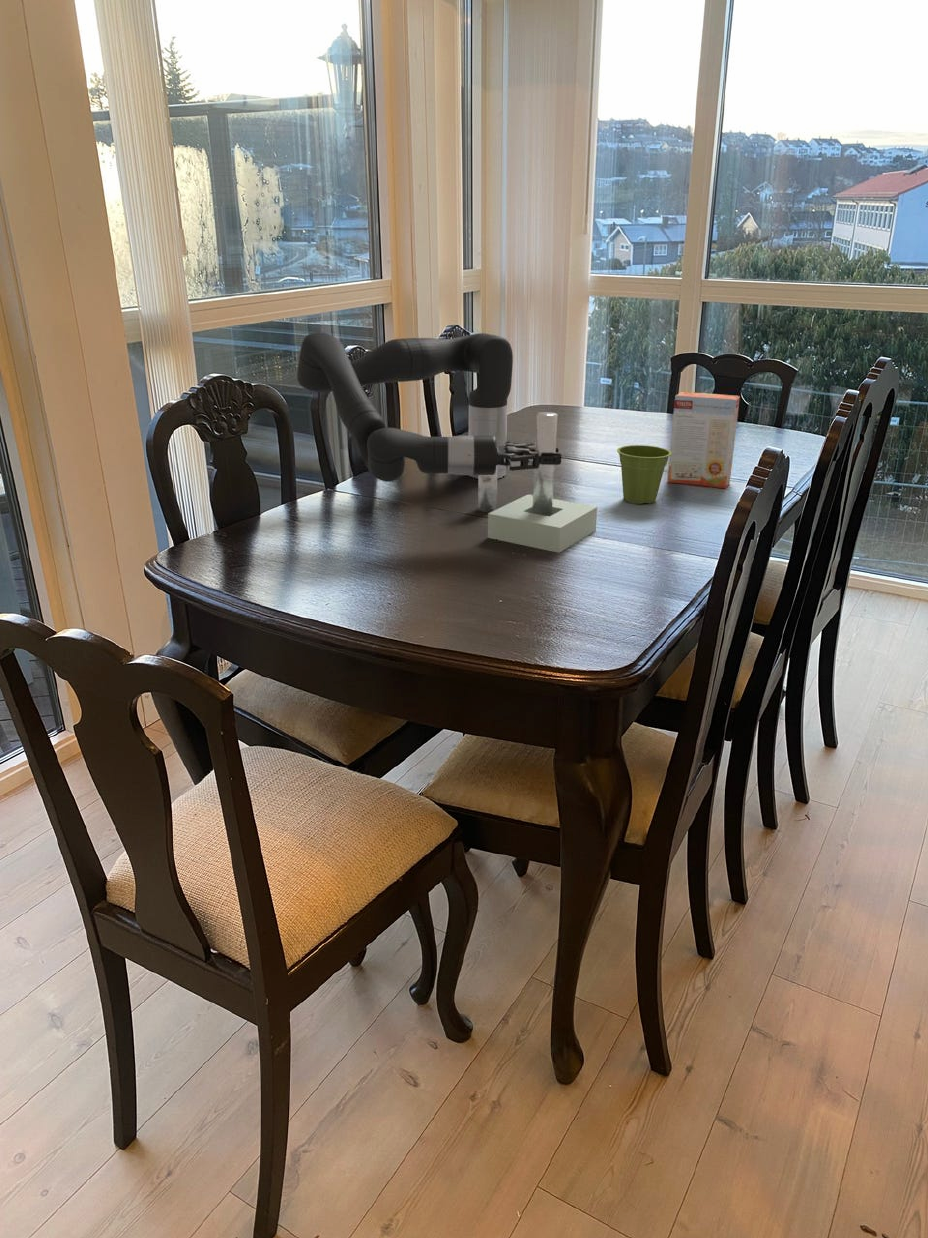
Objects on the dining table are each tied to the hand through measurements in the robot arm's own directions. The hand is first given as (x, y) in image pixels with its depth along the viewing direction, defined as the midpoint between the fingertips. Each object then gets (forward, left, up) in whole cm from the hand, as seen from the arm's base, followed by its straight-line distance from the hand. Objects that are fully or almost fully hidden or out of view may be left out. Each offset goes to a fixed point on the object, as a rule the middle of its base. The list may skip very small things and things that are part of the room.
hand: (559, 455), depth 176 cm
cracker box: (+11, +53, -16) cm, 56 cm away
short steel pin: (-20, +7, -16) cm, 27 cm away
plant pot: (+5, +32, -16) cm, 36 cm away
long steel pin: (-2, -2, -12) cm, 12 cm away
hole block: (-2, -1, -16) cm, 16 cm away
